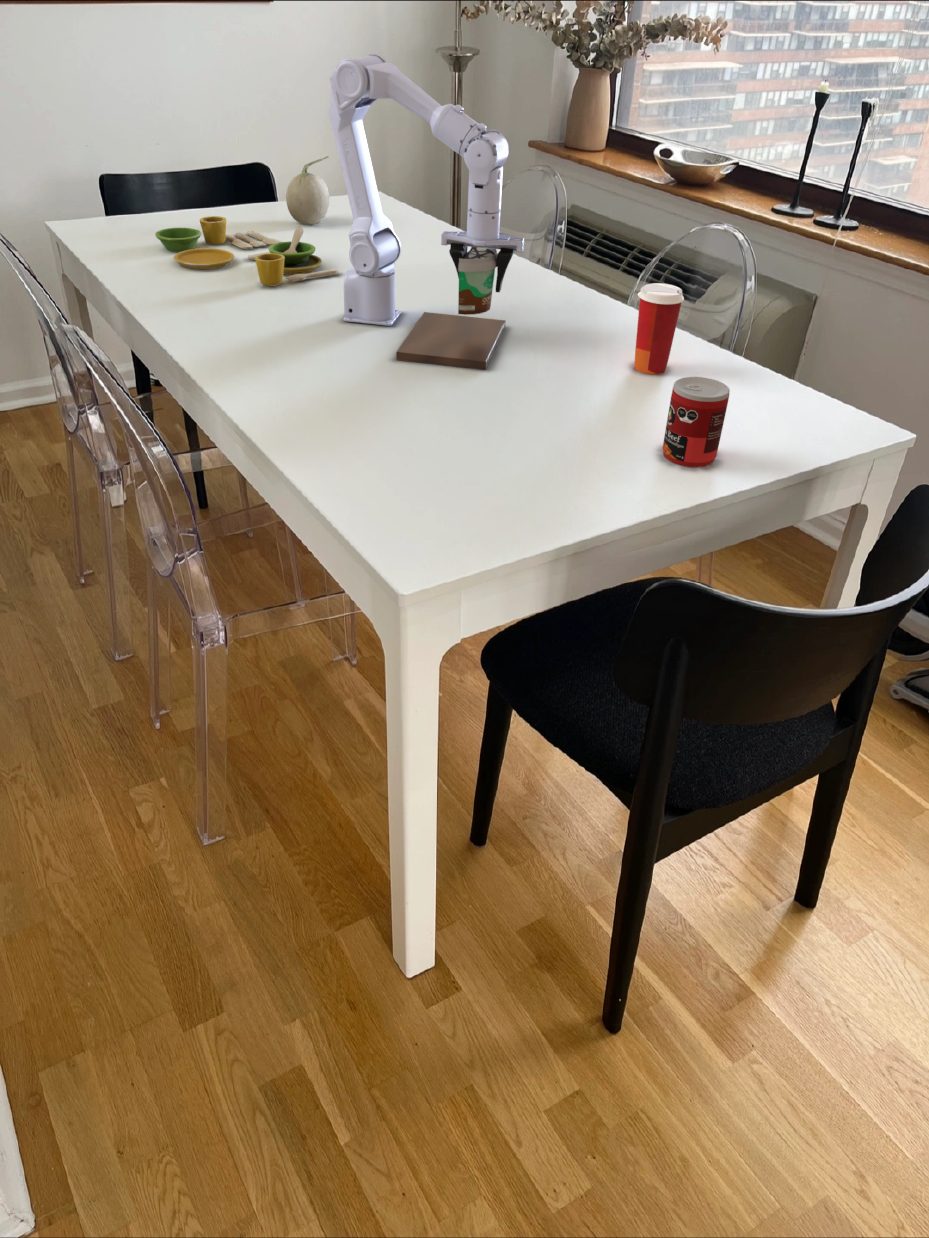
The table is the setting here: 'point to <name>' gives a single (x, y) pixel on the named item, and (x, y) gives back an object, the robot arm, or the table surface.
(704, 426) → the canned food
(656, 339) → the paper cup
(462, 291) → the food container
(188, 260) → the tableware set
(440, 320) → the walnut board
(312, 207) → the fruit
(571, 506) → the table surface
